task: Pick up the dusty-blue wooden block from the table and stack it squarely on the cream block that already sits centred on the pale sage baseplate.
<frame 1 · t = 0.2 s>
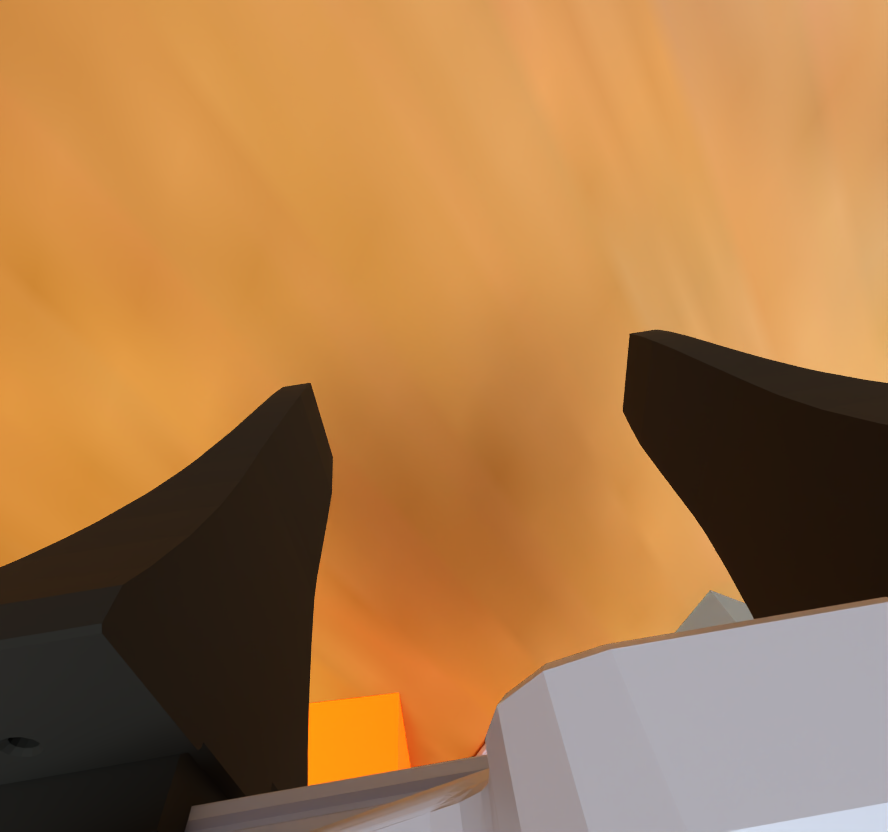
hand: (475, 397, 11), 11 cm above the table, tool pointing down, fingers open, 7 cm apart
orange juice: (348, 743, 32), on the table
blue block: (715, 630, 30), on the table
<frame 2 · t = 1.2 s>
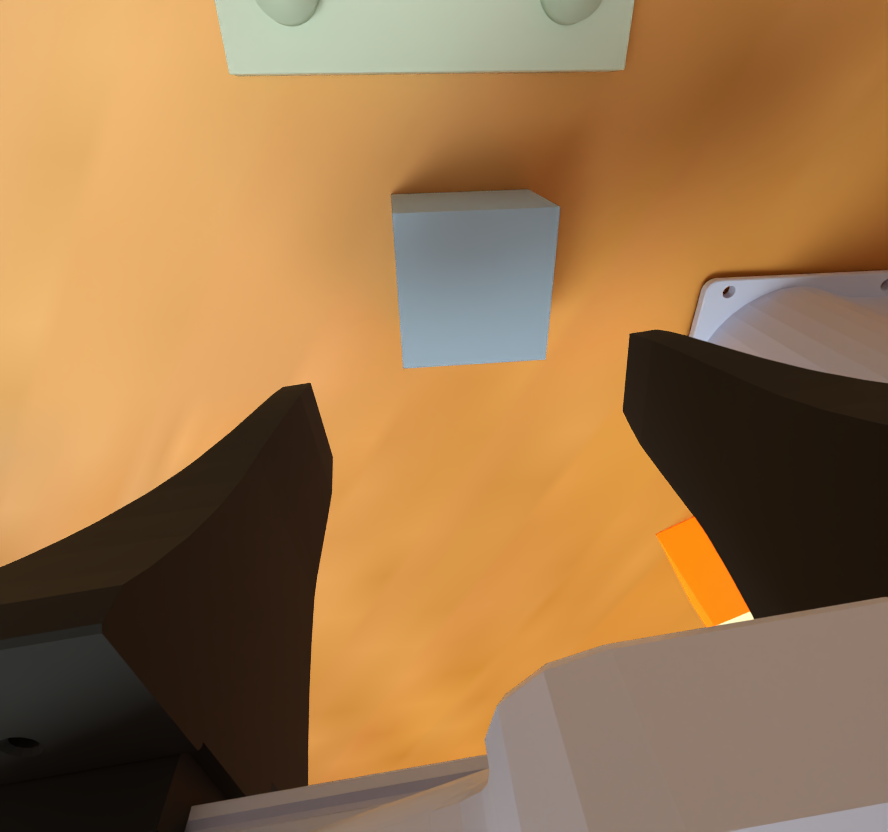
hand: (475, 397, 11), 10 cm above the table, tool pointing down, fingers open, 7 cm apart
orange juice: (740, 536, 30), on the table
blue block: (460, 261, 19), on the table
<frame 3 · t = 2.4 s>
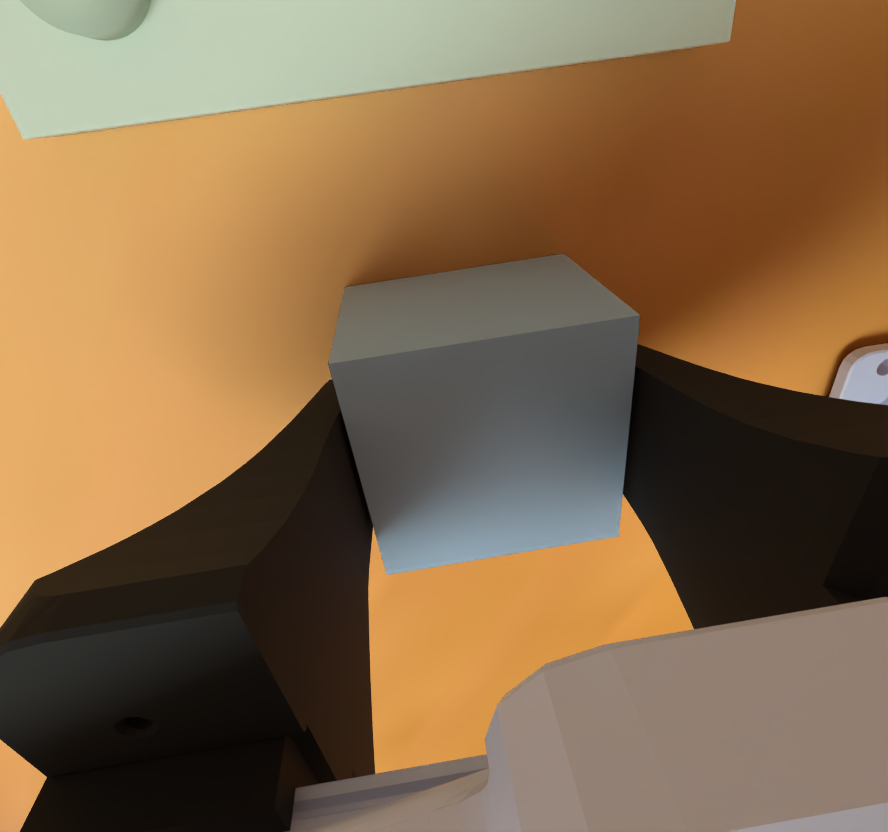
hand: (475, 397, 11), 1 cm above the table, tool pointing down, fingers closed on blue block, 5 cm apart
blue block: (465, 367, 12), on the table, touching gripper
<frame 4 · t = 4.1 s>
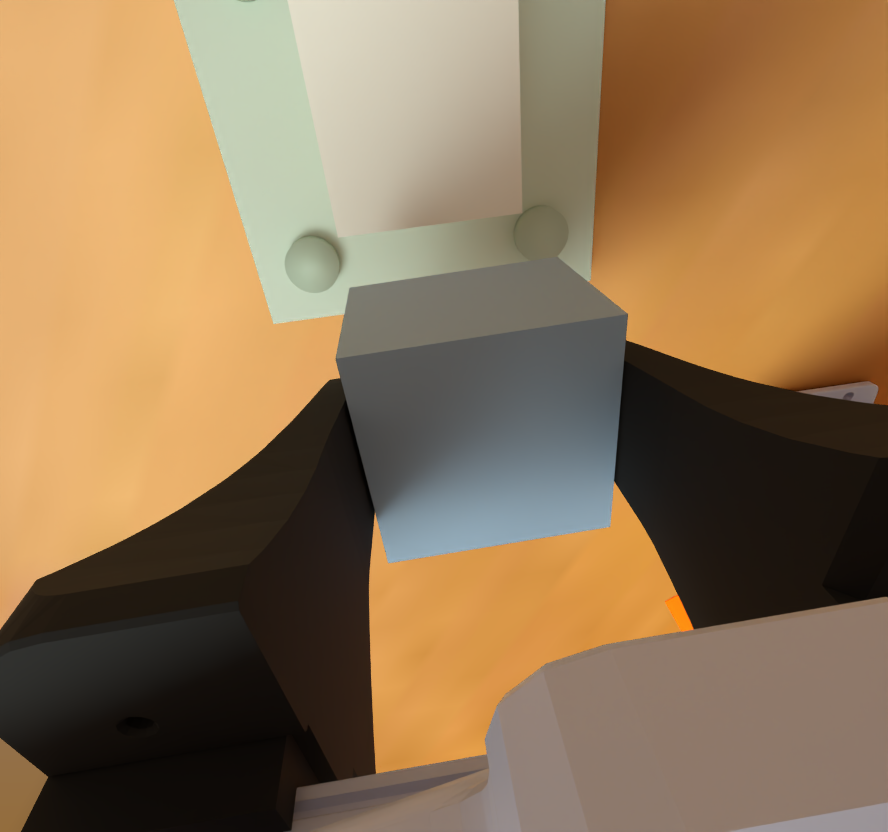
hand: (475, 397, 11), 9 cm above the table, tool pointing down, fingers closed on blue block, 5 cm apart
baseplate: (409, 115, 16), on the table
orange juice: (744, 596, 32), on the table
blue block: (464, 366, 13), point 7 cm above the table, touching gripper
cream block: (411, 115, 15), point 1 cm above the table, touching baseplate
when the fingers open (8 cm above the table, at t = 5.3 s): blue block stays where it is, resting on cream block.
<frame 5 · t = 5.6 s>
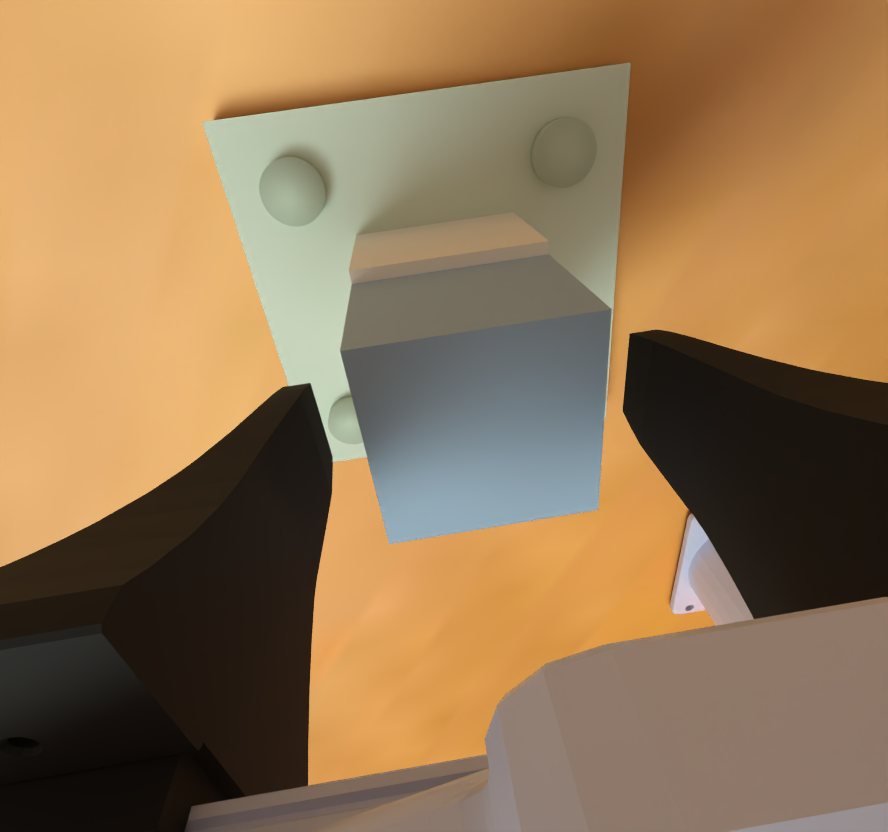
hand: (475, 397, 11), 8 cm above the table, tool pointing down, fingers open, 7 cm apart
baseplate: (441, 291, 18), on the table
blue block: (460, 358, 14), point 5 cm above the table, touching cream block
cream block: (444, 300, 17), point 1 cm above the table, touching baseplate, blue block
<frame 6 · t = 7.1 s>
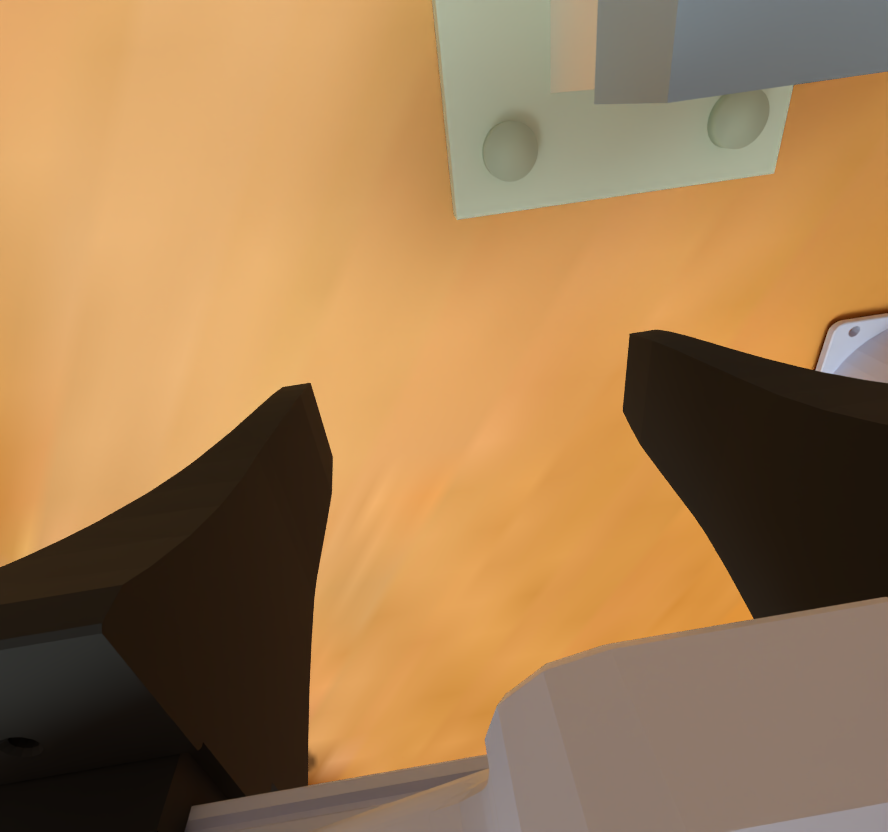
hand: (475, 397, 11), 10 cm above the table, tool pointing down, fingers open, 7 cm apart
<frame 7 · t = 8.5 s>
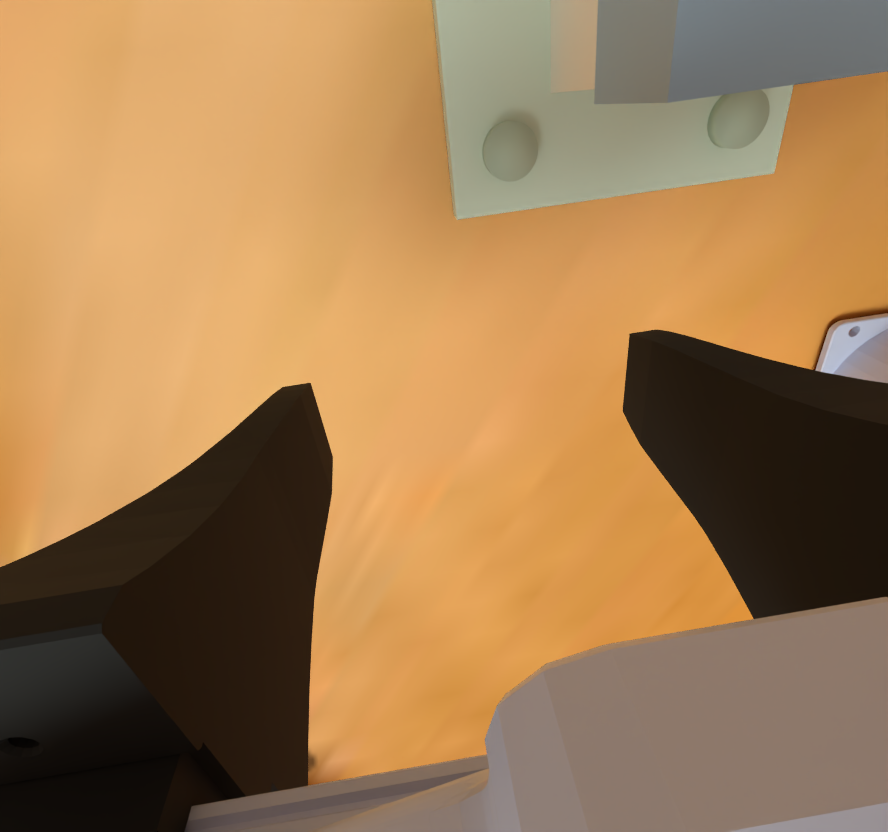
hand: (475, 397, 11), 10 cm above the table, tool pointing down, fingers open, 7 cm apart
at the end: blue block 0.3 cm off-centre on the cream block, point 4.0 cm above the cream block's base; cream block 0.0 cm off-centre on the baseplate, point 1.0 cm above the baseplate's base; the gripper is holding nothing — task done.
